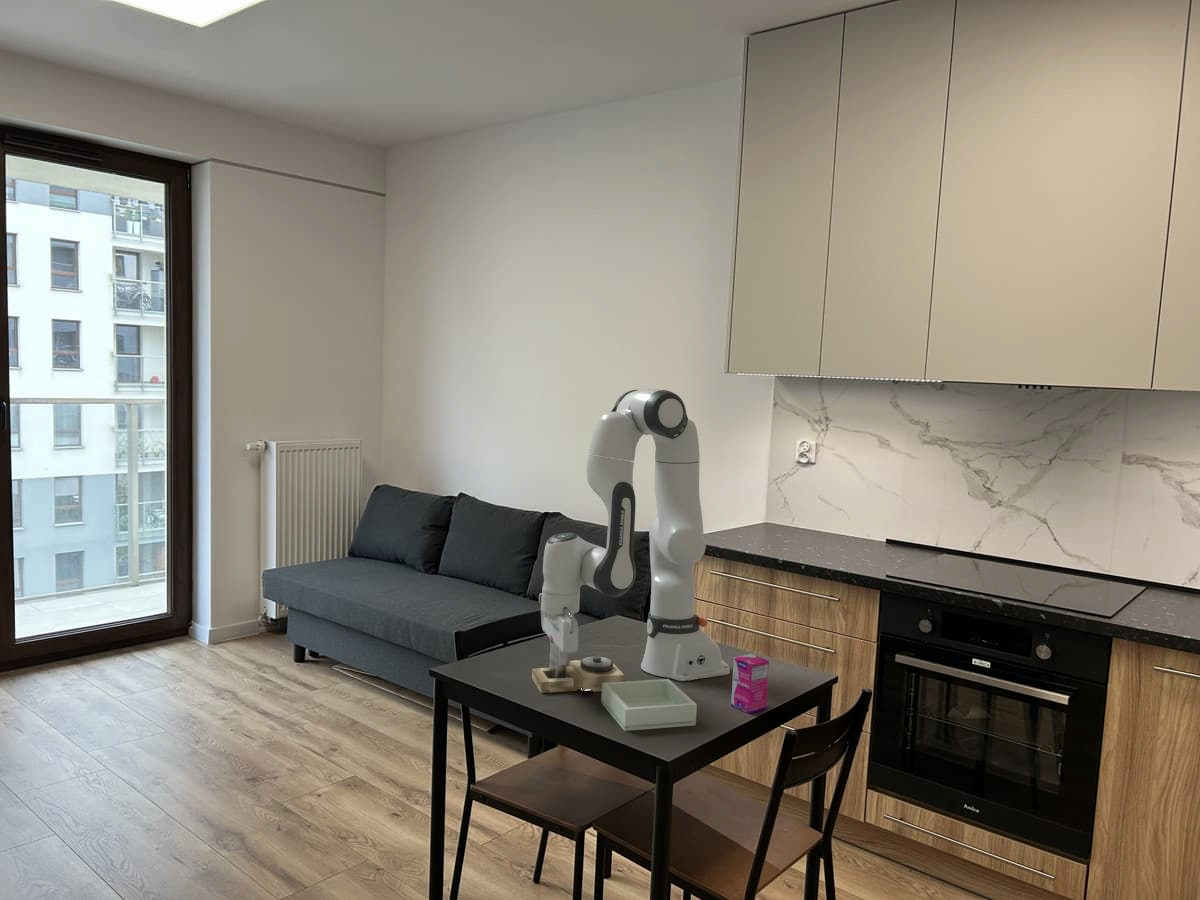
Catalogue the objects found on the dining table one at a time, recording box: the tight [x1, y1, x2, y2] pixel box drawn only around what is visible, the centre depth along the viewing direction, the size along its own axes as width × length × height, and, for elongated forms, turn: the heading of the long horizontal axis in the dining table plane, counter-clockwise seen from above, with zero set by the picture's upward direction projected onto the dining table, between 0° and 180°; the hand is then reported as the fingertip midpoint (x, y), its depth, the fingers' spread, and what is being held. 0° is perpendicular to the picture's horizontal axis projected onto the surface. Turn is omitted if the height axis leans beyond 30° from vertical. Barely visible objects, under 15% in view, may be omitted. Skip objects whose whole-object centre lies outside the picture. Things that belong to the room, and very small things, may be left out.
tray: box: [600, 678, 698, 732], centre depth 190 cm, size 16×16×4 cm
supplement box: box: [730, 653, 770, 715], centre depth 196 cm, size 6×6×12 cm
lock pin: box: [549, 635, 568, 679], centre depth 205 cm, size 4×4×11 cm
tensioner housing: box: [531, 656, 626, 694], centre depth 207 cm, size 20×12×6 cm, turn 107°
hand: (558, 660), depth 205 cm, fingers closed on lock pin, 4 cm apart
